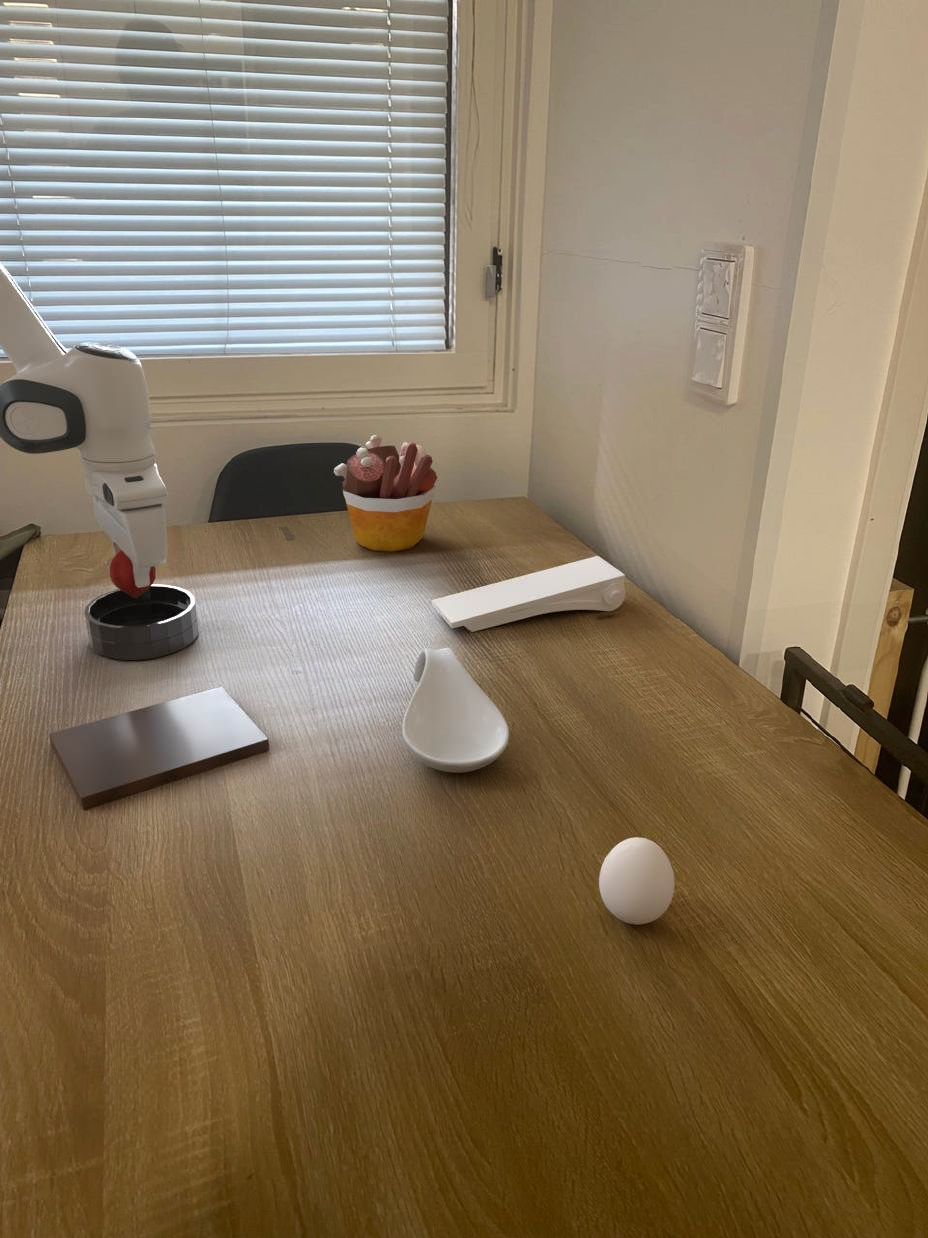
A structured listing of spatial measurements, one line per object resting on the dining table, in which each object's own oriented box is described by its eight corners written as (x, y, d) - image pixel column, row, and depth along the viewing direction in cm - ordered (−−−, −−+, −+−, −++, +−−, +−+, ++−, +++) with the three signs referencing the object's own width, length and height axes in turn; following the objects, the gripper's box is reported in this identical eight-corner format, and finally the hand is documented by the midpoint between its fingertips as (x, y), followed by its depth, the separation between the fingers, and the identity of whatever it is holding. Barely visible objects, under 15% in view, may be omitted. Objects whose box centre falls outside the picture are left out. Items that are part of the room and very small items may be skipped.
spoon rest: (519, 783, 97) (522, 726, 94) (410, 794, 95) (410, 736, 92) (473, 677, 118) (475, 627, 115) (383, 684, 116) (382, 633, 113)
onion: (122, 587, 126) (115, 532, 122) (164, 589, 126) (158, 534, 122) (106, 604, 121) (98, 547, 117) (149, 606, 120) (143, 550, 117)
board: (83, 810, 91) (81, 798, 90) (50, 745, 101) (48, 733, 101) (269, 750, 102) (268, 739, 101) (222, 696, 112) (221, 686, 111)
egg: (670, 947, 76) (681, 874, 73) (593, 936, 77) (602, 863, 74) (668, 895, 82) (679, 825, 79) (597, 885, 83) (605, 815, 80)
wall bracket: (456, 667, 132) (625, 618, 140) (455, 630, 127) (630, 581, 135) (431, 624, 138) (593, 580, 146) (430, 588, 134) (597, 543, 142)
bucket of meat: (326, 531, 166) (321, 422, 158) (407, 519, 174) (407, 415, 165) (368, 568, 150) (366, 450, 142) (456, 553, 158) (459, 440, 149)
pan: (107, 671, 117) (101, 637, 115) (78, 630, 127) (72, 597, 125) (213, 645, 124) (210, 612, 122) (178, 608, 135) (174, 577, 133)
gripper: (74, 458, 122) (88, 555, 128) (118, 501, 107) (132, 608, 113) (122, 453, 125) (134, 547, 131) (172, 493, 110) (182, 597, 116)
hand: (133, 576), depth 122 cm, fingers closed on onion, 6 cm apart
